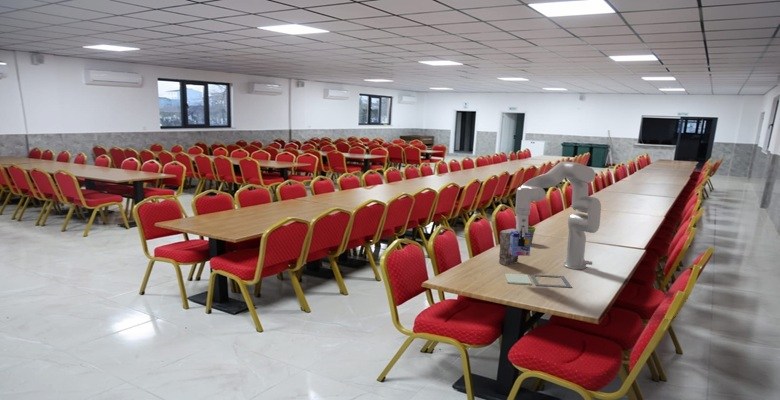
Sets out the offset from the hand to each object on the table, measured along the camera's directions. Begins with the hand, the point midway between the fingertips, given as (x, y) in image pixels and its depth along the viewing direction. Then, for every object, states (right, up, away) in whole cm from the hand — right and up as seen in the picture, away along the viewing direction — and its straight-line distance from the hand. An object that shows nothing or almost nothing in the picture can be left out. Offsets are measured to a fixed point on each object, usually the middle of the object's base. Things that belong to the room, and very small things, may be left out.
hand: (520, 244), depth 250 cm
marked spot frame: (+17, -20, +2) cm, 26 cm away
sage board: (0, -19, +3) cm, 19 cm away
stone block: (+2, -14, +34) cm, 37 cm away
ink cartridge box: (0, -6, +1) cm, 6 cm away
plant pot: (+26, -7, +81) cm, 85 cm away
